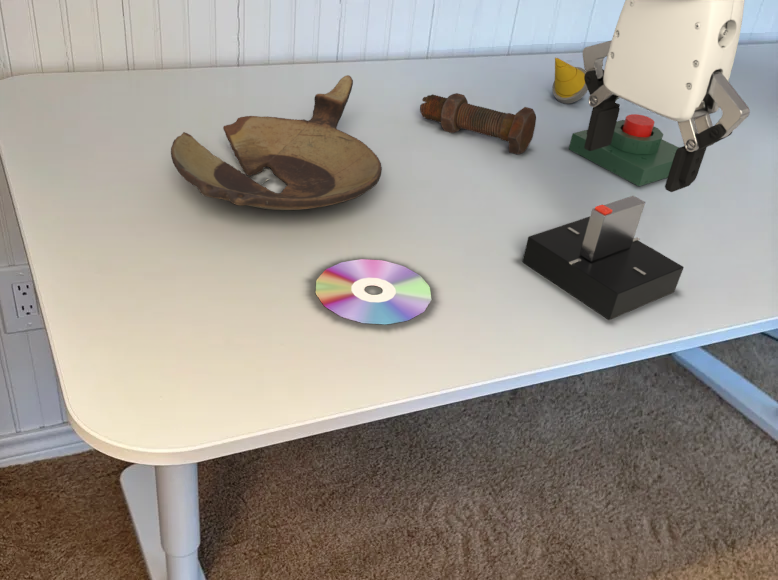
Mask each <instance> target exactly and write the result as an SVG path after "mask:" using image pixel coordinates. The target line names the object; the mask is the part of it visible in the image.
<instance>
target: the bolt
mask: <svg viewBox="0 0 778 580" xmlns="http://www.w3.org/2000/svg"><path fill="white" fill-rule="evenodd" d="M421 100H422V102H423V103H421V104H420V105H419V112H420V113H421V116H422V118H424V119H427V120H430V121H433V122H437V123H440V126H441V128H442V129H443V131H444V132H446V133H450V134H454V133H457V132H459V131H460V130H461V129H462V130H465V131H470V132H474V133H477V134H481V135H485V136H488V137H493V138H496V139H498V140H501V141H503V142H506V143H508V151H509V153H510V154H515V155H521V154H523V153H525V152H526V150H527V149H528V147H529V146H530V144H531V142H532V140H533V137H534V133H535V129H536V122H537V115H536V112H535V110H534V109H533V108H531V107H527V106H524V107H522V108H521V109H520V110H518V111H516V113H511V112H507V113H506V112H503V111H499V110H496V109H491V108H487V107H484V106H480V105H475V104H471V103H469V102H468V98H467V97H466V96H465V94H462V93H458V92H456V93H452V94H449V95H448V96H447V97H446V96H445V97H444V96H441V95H436V94H433V93H432V94H428V95H427V96H423V97H422V99H421Z"/></svg>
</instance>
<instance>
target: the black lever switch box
mask: <svg viewBox="0 0 778 580" xmlns="http://www.w3.org/2000/svg"><path fill="white" fill-rule="evenodd" d="M590 216H591V215H589V216H587V217H583V218H580V219H578V220H575V221H572V222H568V223H565V224H562V225H559V226H555V227H553V228H550V229H547V230H544V231H541V232H539V233H535V234H533V235H529V236H528V237H527V241H526V245H525V248H524V254H523V258H522V263H523V264H525V265H526V266H528V267H529V268H531V269H532V270H534V271H535V272H537V273H538V274H540V275H541V276H542V277H544V278H546V279H547V280H549V281H550V282H551V283H553V284H554V285H556V286H558V287H559V288H560V289H562V290H563V291H565V292H566V293H568V294H570V295H571V296H573V297H574V298H576V300H578V301H580V302H581V303H583V304H584V305H586V306H588V307H589V308H590V309H592V310H593V311H594V312H596V313H598V314H599V315H601V316H602V317H604V318H605V319H607V320H608V321H610V320H613V319H615V318H618V317H620V316H622V315H625V314H627V313H629V312H631V311H634V310H636V309H638V308H641V307H643V306H645V305H648V304H650V303H652V302H654V301H657V300H659V299H661V298H664V297H666V296H669V295H671V294H674V293H675V291H676V289H677V286H678V283H679V281H680V278H681V277H682V273H683V271H684V268H685V267H684V266H683V265H682V264H680V263H678V262H676V261H674V260H673V259H671V258H669V257H667V256H666V255H664V254H663V253H661V252H659V251H657V250H656V249H653V247H650V246H649V245H648V244H645V243H643V242H642V241H640V240H641V238H639V237H638V236H636V237H634V239H633V242H632V245H631V247H630V248H627V249H625V250H622V251H619V252H616V253H614V254H611V255H608V256H606V257H603V258H600V259H598V260H595V261H592V262H591V261H589V260H587V259H586V258H584V257H583V256H581V255H580V251H581V247H582V244H583V240H584V237H585V233H586V230H587V226H588V223H589V219H590Z"/></svg>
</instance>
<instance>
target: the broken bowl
mask: <svg viewBox="0 0 778 580" xmlns="http://www.w3.org/2000/svg"><path fill="white" fill-rule="evenodd" d="M353 85H354V80H353V77H352V76H351V75H348V74H347V75H344V76H342V77H341V78H340V79H339V81H338V82H337V83H336V85H335V86H334V87H333V88H332V89H331V90H330V91H328V92H327V93H317V94H315V95H314V98H313V100H314V105H313V110H312V116H311V118H310V119H309V120H306V119H297V118H296V119H294V118H284V117H278V116H260V115H245V116H240V117H237V118H236V120H235V122H233V123H231V124H226V125H223V128H222V129H223V132H224V133H225V137H226V140H227V141H228V142H229V145H230V147H231V150H232V151H233V153H234V156H235V158H236V159H237V161H238V163H239V166H240V167H241V168H242V170H243V172H244V173H242V171H241V170H239V169H237V168H235V167H234V166H233V165H231V164H230V163H227V162H226V161H224V160H222V159H221V158H220V157H218V156H216V155H214V154H212V153H211V151H210V150H209V149H208V148H206V147H205V146H204V145H202V144H201V143H199V142H198V140H197V139H196V138H194V136H192V135H191V134H189V133H188V132H186V131H183V132H182V133H181V135H178V136H176V138H175V139H174V140H173V142H172V144H171V147H170V157H171V161H172V164H173V165H174V168H175V169H176V170H177V172H178V174H180V175H181V177H182V178H183V179H184V180H186V181H187V182H188V183H189V184H191V185H193V186H194V187H196V188H197V189H198V191H199V193H200V194H201V195H202V196H205V197H207V198H214V199H219V200H223V201H228V202H230V203H232V204H234V205H236V206H248V207H254V208H257V209H258V208H259V209H265V210H271V211H272V210H275V211H276V210H277V211H298V210H308V209H315V208H323V207H326V206H332V205H337V204H340V203H343V202H347V201H350V200H354V199H356V198H358V197H360V196H362V195H364V194H366V193H367V192H368V191H370V190H372V188H374V187H375V186H377V184H378V183H379V181H380V179H381V176H382V169H383V167H382V162H381V160H380V158H379V157H378V155H377V154H376V153H375V152H374V151H373V150H372V149H371V148H370V147H369V146H368V145H367V144H365V142H363V141H362V140H360V139H358V138H357V137H355V136H353V135H350V134H349V133H346V132H344V131H342V130H340V129H338V125H339V122H340V121H341V118H342V116H343V113H344V111H345V109H346V105H347V104H348V101H349V99H350V96H351V92H352V89H353ZM266 167H268V168H270V170H271V171H272V173H273V174H274V175H275V176H276V177H277V178H278V179H280V180H281V181H282V182H283V183H285V184H286V186H285V187H284V188H283V190H282V191H281V192H275V191H272V190H271V189H269V188H268V187H266V186H263V184H264V183H265V182H267V181H268V180H270V178H266V179H265V180H264V181H263V182H262V183H261V184H262V185H261V184H259V183H258V182H257V181H255V180H253V179H252V178H251V177H250V176H252V175H257V174H258V173H260V172H263V171H264V169H265V168H266Z"/></svg>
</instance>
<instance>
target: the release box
mask: <svg viewBox="0 0 778 580" xmlns="http://www.w3.org/2000/svg"><path fill="white" fill-rule="evenodd" d="M624 122H625V119H621V120H617V122H616V126H615V130H614V133H613V137H612V141H611V144H610V145H609V146H606V147H602V148H599V149H596V150H592V151H588V150H586V149H585V148H584V146H585V142H586V138H587V130H588V129H584V130H579V131H577V132H573V133H571V134H572V135H571V139H570V143H569V147H568V150H569V151H571V152H573V153H575V154H577V155H578V156H580V157H582V158H585V159H586V160H588V161H590V162H591V163H593V164H596V165H598V166H600V167H601V168H603V169H605V170H607V171H609V172H610V173H613V174H615V175H617V176H618V177H620V178H622V179H624V180H626V181H628V182H630V183H632V184H634V185H635V186H637V187H643V186H646V185H649V184H653V183H654V182H658V181H661V180H665V179H667V178H668V175H669V172H670V168H671V165H672V162H673V159H674V156H675V153H676V150H677V149H678V148H680V146H676V145H674V144H673V143H670V142H668V141H666V140H664V139H663V137H664V133H663V132H662V130H661V129H659V128H658V127H656V126H655V125H654V126H653V130H652V133H651V136H650V137H637V136H632V135H629V134H627V133H625V132H623V131H622V129H623V126H624Z"/></svg>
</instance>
